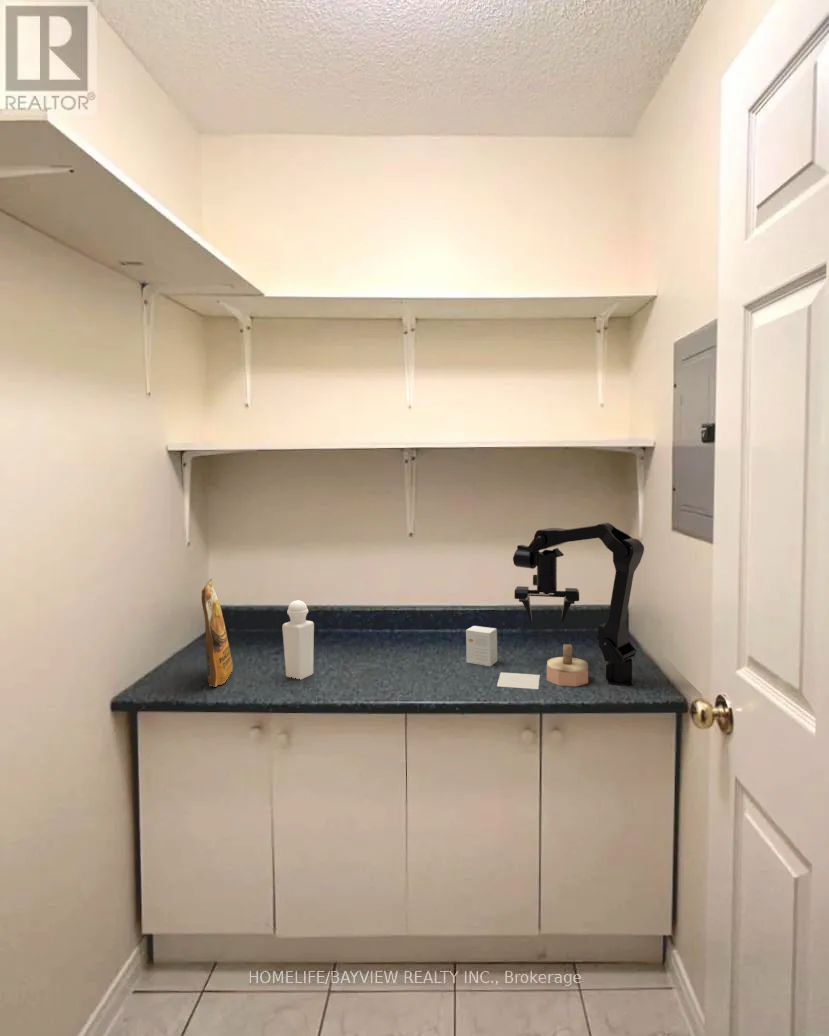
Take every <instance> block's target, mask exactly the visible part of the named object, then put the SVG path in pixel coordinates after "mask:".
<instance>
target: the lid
mask: <svg viewBox="0 0 829 1036" xmlns="http://www.w3.org/2000/svg"><path fill="white" fill-rule="evenodd" d="M546 663H547V664H546V667H547V666H548V667H549V668H550V669H552V670H555V671H559V672H565V673H578V672H583V671H586V670H587V669H588V670H589V663H588V662H587V661H586V660H585V659H581V658H576V657H573V645H572V644H569V643H568V644H567V643H565V644H563V645H562V656H557V657H551V658H549V659H548V660H547V661H546Z"/></svg>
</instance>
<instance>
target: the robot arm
mask: <svg viewBox="0 0 829 1036" xmlns="http://www.w3.org/2000/svg"><path fill="white" fill-rule="evenodd" d="M592 539H599V540H601V542H602V543H603V545H604V546H605V548H606V549H608V550H609V551H610V552H612V563H613V565H614V566H613V567H614V569H615V574H614V580H613V587H612V592H611V598H610V604H609V612H608V617H607V621H606V622H605V623H601V624H600V625H599V626H598V628H597V629H598V630H597V631H598V632H597V633H598V635H597V637H596V638H595V639H596V640H597V646H598V648H599V649H600V651H601V652H602V656H603V658H604V661H605V663H604V666H605V667H604V677H605V680H607V683H608V684H610V685H622V686H633V685H634V682H633V659H632V658H635V656H636V655H637V652H638V651H637V649H636V648H635V647H634V645H633V643H631V642H630V641H629V628H628V626H627V621H626V620H627V616H628V610H629V605H630V599H631V592H632V585H633V581H634V575H635V574H634V573H635V572H636V570H637V569H638V567H639V565H640V564H641V560H642V558H643V555H644V553H645V547H644V544H643V543H642V541H641V540H639V539H638V538H634V537H632V536H631V535H629V534H627V533H626V532H624V531H622V530H620V529H619V528H616V527H615V526H614V525H613V524H611V523H610V522H603V523H598V524H595V525H589V526H587V525H586V526H582V527H574V528H560V527H559V528H557V527H549V528H542V529H538V530H536V531H535V533H534V537H533V539H532V541H531V542H530V544H529V545H525V544H520V545H517V547H516V550H515V551H514V554H513V557H512V562H513V564H514V566H515V567H517V568H526V569H535V568H536V574H533V575H532V586H536V589H530V588H529V586H520V585H518V586H516V587H515V588H514V595H513V596H514V599H515V600H518V602H519V603H522V605H523V607H524V608H525V612H526V613H527V616H528V619H529V622H532V620H533V617H532V616H533V615H532V608H531V598H530V597H546V598H547V597H548V598H549V597H550V598H563V603H562V604H563V605H562V613H561V623H562V624H563V623H564V621H565V618H566V616H567V612H568V611H569V609H570V607H571V605H574V604H576V603H575V602H580V590H579V589H578V588H577V587H576V588H575V587H565V589H564V590H558V589H557V588H558V586H557V585H558V584H557V583H558V582H557V581H558V579H557V577H558V576H557V572H558V571H557V570H558V568H557V567H558V566H557V565H558V564H557V563H558V558H560V557H563V556H564V555H565V554H564V553H563V552H562V551H561V550H560V549H559V547H557V546H561V545H564V544H565V543H568V542H570V543H571V542H576V541H583V540H592ZM554 547H557V548H554ZM550 548H553V549H550ZM541 550H542V551H541Z"/></svg>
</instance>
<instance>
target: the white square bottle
mask: <svg viewBox="0 0 829 1036" xmlns="http://www.w3.org/2000/svg"><path fill="white" fill-rule="evenodd" d="M286 613H287V615H288V616H289V620H290V621H288V622H284V623H283V624H282V627H281V628H282V639H283V653H284V665H285V677H286V678H291V677H292V678H291V679H295V678H296V679H297V680H299V679H300V681H301V680H303V679H305V678H308V677H310V676H312V675H313V674H314V647H315V646H314V641H315V640H314V639H315V638H314V637H315V636H314V635H315V634H314V633H315V623H314V622H313V621H312V620H307V615H308V613H309V609H308V606H307V604H306V603H305V602H304V601H303V600H299V599H298V600H293V601H291V602H290V604H289V605H288V607H287V612H286ZM296 679H295V680H296Z"/></svg>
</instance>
